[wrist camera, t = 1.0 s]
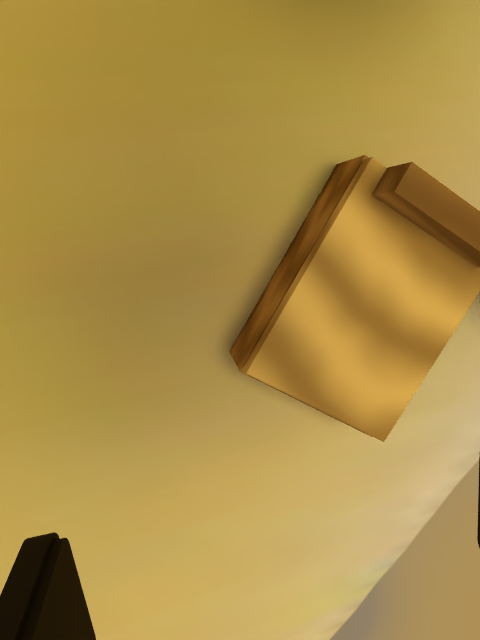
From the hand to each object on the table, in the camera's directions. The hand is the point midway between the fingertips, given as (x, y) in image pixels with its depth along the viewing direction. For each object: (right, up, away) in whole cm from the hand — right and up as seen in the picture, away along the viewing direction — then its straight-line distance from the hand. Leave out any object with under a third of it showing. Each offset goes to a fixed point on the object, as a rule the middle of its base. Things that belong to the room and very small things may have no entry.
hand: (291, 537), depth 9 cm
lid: (+9, +6, +23) cm, 25 cm away
